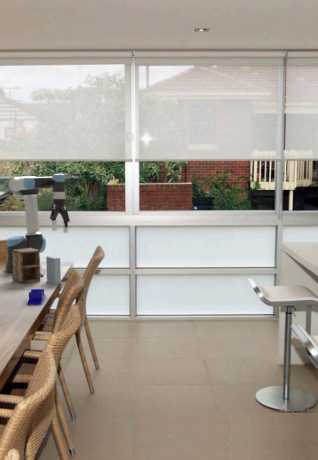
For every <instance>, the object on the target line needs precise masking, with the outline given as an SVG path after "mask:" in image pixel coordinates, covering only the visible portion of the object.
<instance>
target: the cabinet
mask: <svg viewBox="0 0 318 460" xmlns="http://www.w3.org/2000/svg"><path fill="white" fill-rule="evenodd" d="M40 254H41V253H39V250H38V249H33V248H23V249H15V250H12V272H11V273H12V282H15V283H17V284H21V285H23V284H31V283H36V282H41V277H42V275H41V274H40V264H41V256H40Z"/></svg>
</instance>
